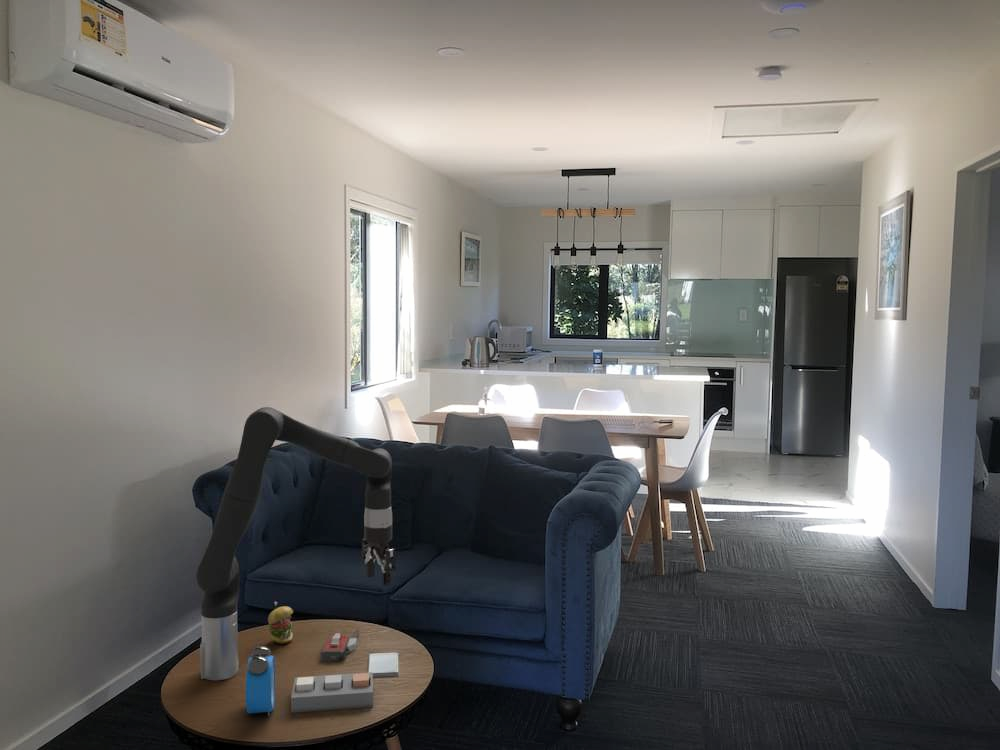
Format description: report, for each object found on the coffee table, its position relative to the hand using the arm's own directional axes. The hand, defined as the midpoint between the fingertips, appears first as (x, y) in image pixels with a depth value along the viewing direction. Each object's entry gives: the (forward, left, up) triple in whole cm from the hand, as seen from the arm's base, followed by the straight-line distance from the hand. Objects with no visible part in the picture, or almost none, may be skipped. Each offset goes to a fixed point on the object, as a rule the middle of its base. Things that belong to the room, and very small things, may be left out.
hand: (378, 580), depth 219 cm
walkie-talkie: (-11, +17, -26) cm, 33 cm away
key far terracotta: (-5, -14, -23) cm, 28 cm away
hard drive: (+1, +3, -26) cm, 26 cm away
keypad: (-12, -14, -25) cm, 31 cm away
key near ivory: (-19, -14, -23) cm, 33 cm away
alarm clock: (-29, -17, -26) cm, 43 cm away
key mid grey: (-12, -14, -23) cm, 30 cm away
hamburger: (-29, +24, -26) cm, 45 cm away
